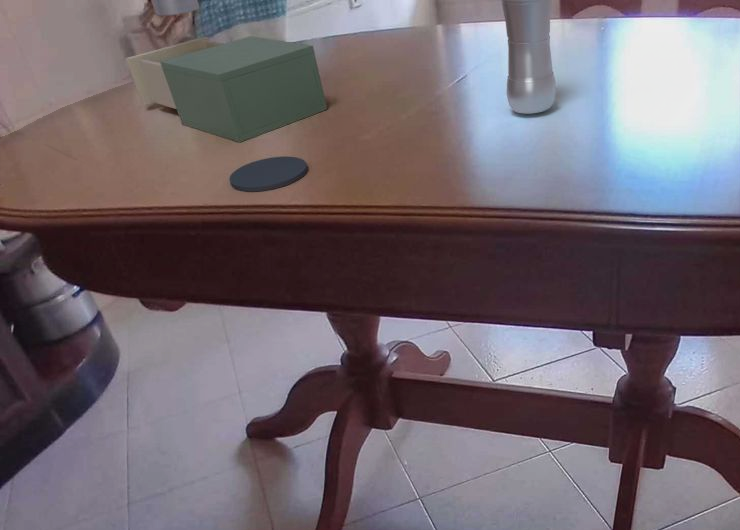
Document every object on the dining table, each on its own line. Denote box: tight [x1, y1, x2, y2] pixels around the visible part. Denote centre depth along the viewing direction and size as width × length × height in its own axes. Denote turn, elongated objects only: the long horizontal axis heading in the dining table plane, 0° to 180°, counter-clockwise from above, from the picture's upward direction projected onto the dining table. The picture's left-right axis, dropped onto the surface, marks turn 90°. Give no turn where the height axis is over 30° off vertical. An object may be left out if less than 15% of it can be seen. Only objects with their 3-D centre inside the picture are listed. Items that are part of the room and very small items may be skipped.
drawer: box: [124, 36, 225, 110], centre depth 109 cm, size 19×14×7 cm
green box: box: [160, 35, 328, 143], centre depth 99 cm, size 16×15×9 cm
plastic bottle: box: [500, 0, 557, 115], centre depth 86 cm, size 6×7×20 cm
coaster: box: [228, 156, 309, 193], centre depth 82 cm, size 9×9×1 cm
